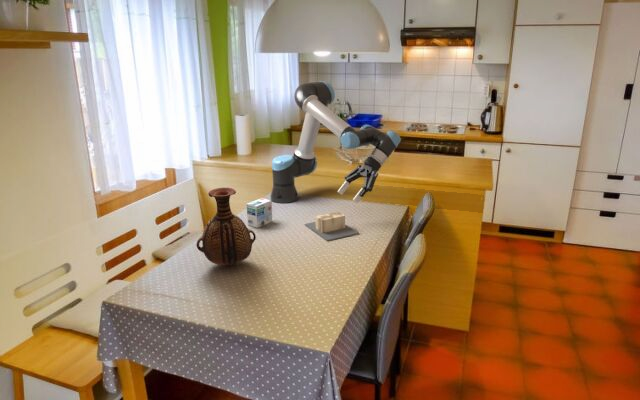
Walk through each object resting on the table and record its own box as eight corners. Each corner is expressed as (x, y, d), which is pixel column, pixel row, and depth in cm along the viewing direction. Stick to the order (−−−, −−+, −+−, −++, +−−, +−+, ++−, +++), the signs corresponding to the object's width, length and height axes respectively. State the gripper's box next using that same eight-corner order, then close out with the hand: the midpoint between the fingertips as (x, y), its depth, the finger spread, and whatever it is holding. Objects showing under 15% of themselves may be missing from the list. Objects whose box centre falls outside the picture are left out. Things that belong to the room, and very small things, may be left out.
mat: (304, 225, 219) (304, 223, 219) (334, 218, 226) (334, 217, 226) (327, 241, 201) (327, 240, 201) (358, 234, 208) (358, 232, 208)
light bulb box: (257, 228, 217) (256, 206, 213) (247, 225, 221) (245, 203, 217) (273, 221, 225) (272, 200, 221) (263, 218, 229) (261, 197, 225)
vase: (258, 254, 189) (254, 183, 180) (254, 275, 172) (248, 197, 163) (205, 256, 189) (197, 184, 179) (195, 277, 172) (186, 199, 162)
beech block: (338, 223, 218) (315, 228, 213) (338, 211, 217) (315, 216, 211) (345, 227, 213) (322, 233, 208) (345, 215, 212) (321, 220, 206)
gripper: (396, 171, 205) (367, 209, 204) (365, 160, 226) (338, 194, 225) (386, 161, 201) (356, 200, 200) (356, 150, 222) (328, 185, 221)
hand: (347, 197), depth 212 cm, fingers open, 13 cm apart
